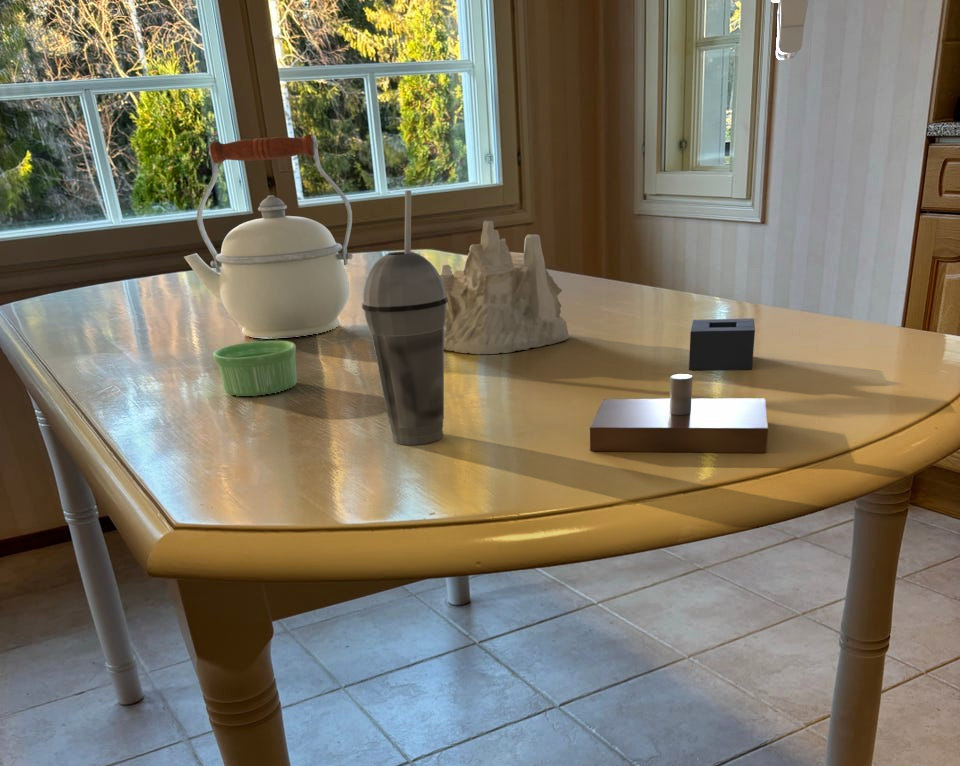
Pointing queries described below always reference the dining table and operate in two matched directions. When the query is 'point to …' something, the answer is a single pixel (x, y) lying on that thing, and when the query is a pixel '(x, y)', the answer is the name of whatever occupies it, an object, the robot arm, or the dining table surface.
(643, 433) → the wooden peg base
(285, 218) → the kettle
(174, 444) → the dining table surface
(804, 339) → the dining table surface
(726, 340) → the dark grey holed block
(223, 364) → the ramekin
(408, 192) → the beverage cup
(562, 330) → the white castle figurine
